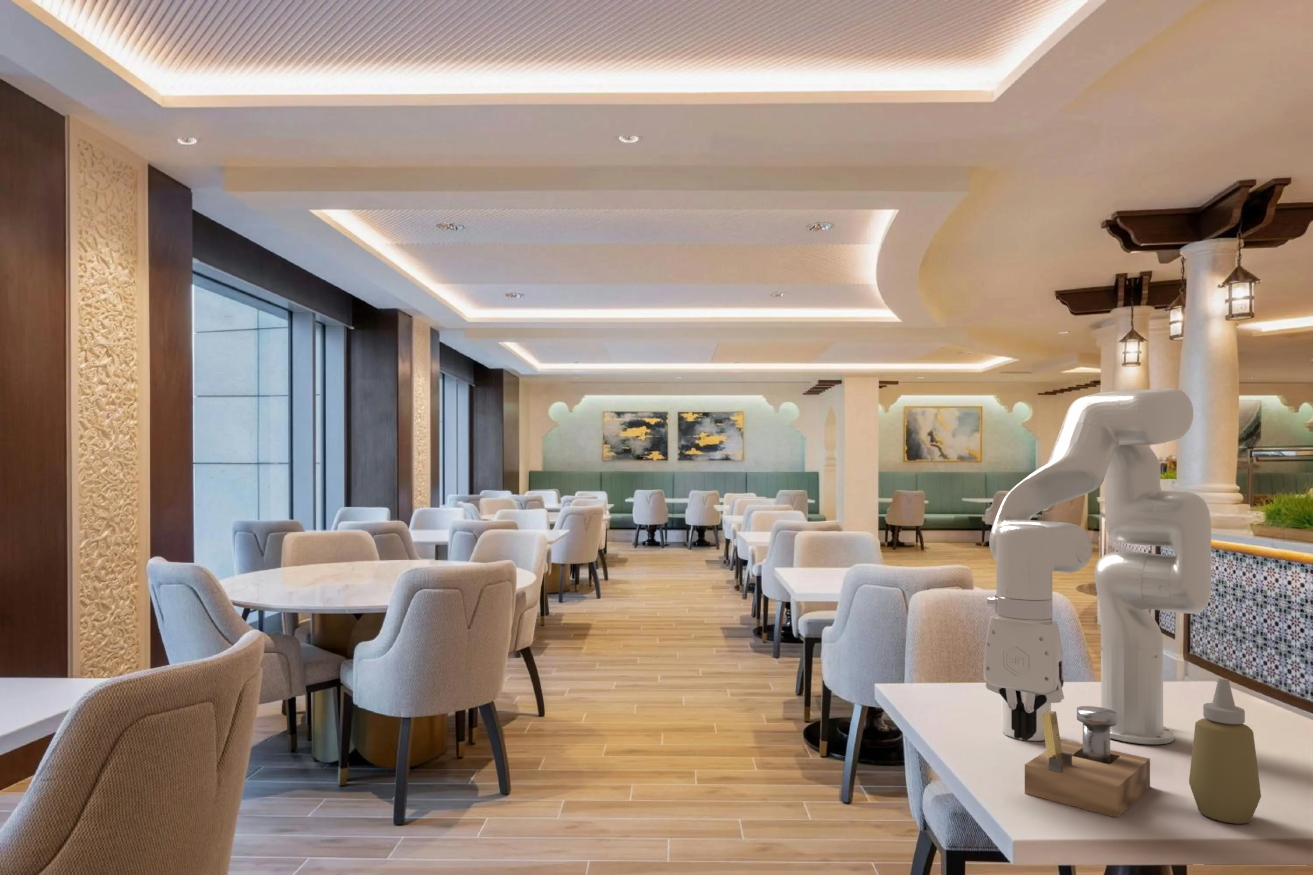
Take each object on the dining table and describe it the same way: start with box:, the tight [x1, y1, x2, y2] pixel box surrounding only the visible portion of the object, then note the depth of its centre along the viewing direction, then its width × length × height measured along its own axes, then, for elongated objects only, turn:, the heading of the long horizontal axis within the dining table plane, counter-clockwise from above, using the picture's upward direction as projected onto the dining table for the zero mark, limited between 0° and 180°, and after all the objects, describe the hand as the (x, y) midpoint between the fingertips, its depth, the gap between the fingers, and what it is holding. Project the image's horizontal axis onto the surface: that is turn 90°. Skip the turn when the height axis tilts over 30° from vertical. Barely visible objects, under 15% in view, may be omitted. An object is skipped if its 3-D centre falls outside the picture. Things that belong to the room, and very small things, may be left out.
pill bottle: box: [1000, 691, 1052, 742], centre depth 149 cm, size 8×8×15 cm
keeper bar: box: [1041, 710, 1063, 765], centre depth 122 cm, size 2×7×1 cm
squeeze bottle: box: [1188, 678, 1262, 825], centre depth 115 cm, size 8×8×18 cm
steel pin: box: [1076, 705, 1117, 764], centre depth 126 cm, size 5×5×10 cm
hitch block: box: [1024, 739, 1151, 819], centre depth 123 cm, size 16×12×6 cm
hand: (1023, 736), depth 124 cm, fingers closed
